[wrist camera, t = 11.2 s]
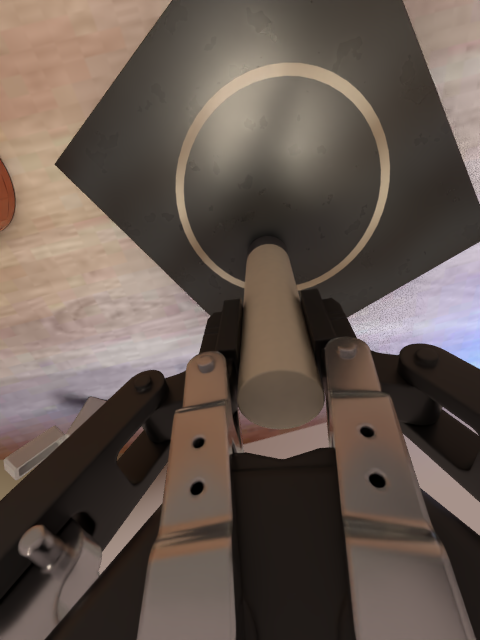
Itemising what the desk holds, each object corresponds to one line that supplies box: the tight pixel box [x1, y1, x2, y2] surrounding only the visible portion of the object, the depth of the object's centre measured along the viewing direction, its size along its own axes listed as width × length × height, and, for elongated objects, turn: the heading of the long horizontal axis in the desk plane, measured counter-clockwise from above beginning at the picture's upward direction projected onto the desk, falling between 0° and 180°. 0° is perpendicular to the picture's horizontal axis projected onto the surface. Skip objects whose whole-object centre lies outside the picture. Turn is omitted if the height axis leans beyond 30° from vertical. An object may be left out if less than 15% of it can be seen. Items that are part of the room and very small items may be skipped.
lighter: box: [4, 397, 106, 480], centre depth 26 cm, size 7×2×8 cm, turn 69°
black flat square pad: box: [55, 0, 480, 318], centre depth 18 cm, size 20×18×1 cm
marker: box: [237, 236, 325, 429], centre depth 14 cm, size 3×3×12 cm
